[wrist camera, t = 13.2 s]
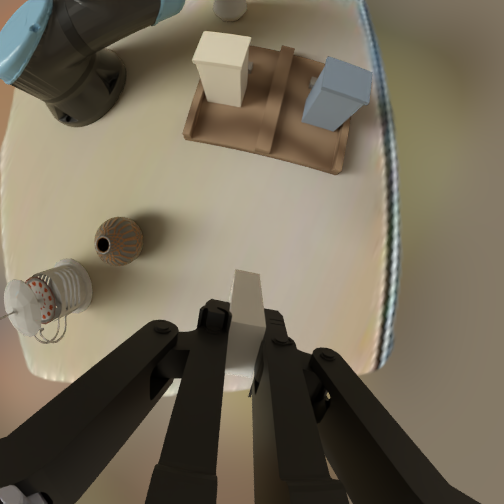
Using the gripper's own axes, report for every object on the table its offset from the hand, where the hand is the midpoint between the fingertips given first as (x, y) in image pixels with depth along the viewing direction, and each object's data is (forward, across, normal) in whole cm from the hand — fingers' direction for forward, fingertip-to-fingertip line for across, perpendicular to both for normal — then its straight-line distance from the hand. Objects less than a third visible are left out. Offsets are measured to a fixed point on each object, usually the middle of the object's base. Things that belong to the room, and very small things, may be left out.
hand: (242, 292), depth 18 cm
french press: (+23, -27, -16) cm, 39 cm away
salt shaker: (+30, -11, +36) cm, 48 cm away
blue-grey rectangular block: (+25, +7, +19) cm, 32 cm away
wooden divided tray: (+27, 0, +20) cm, 33 cm away
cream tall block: (+25, -7, +19) cm, 32 cm away
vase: (+24, -17, -5) cm, 30 cm away
